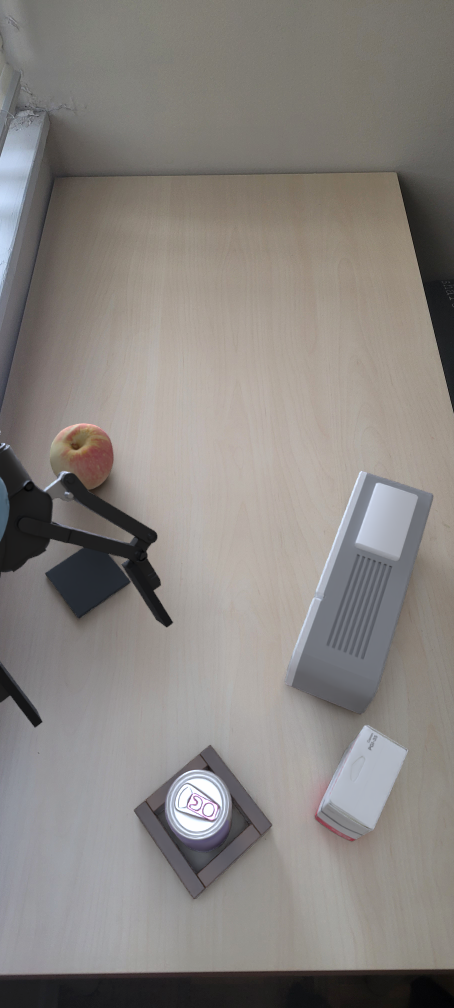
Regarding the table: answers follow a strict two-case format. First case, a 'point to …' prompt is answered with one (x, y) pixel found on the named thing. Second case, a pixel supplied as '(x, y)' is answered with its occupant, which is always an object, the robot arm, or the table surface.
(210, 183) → the table surface
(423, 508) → the alarm clock
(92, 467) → the apple
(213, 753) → the holder
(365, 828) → the ink box
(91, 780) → the table surface
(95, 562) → the coaster
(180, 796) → the beverage can
